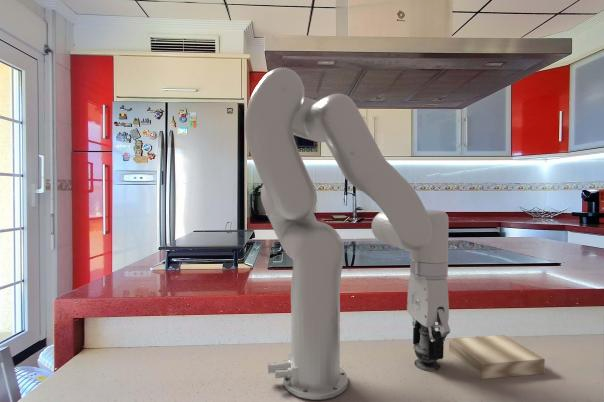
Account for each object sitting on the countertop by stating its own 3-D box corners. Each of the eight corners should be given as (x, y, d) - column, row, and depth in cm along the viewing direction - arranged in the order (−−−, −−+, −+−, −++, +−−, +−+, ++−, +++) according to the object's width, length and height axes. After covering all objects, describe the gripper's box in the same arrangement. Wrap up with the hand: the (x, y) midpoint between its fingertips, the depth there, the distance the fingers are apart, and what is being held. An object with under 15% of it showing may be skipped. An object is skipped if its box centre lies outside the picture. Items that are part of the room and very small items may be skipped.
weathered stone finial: (444, 373, 76) (445, 315, 75) (414, 370, 77) (415, 313, 76) (439, 359, 81) (440, 306, 81) (411, 357, 82) (412, 304, 82)
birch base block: (481, 378, 73) (482, 364, 73) (448, 351, 85) (449, 338, 85) (544, 373, 75) (544, 358, 75) (503, 347, 87) (503, 334, 87)
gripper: (395, 260, 86) (394, 336, 87) (432, 279, 69) (431, 373, 70) (425, 259, 87) (424, 334, 88) (469, 278, 70) (467, 370, 71)
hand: (427, 350), depth 79 cm, fingers closed on weathered stone finial, 5 cm apart
